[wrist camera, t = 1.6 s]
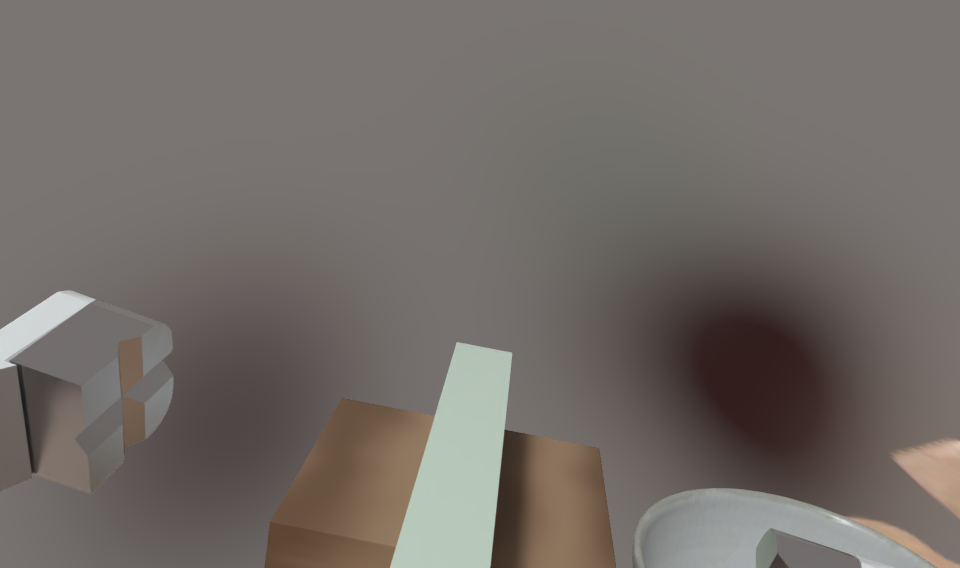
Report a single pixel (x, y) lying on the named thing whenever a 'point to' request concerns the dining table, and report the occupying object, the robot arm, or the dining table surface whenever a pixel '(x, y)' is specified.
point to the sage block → (459, 467)
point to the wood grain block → (389, 485)
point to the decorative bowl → (749, 531)
